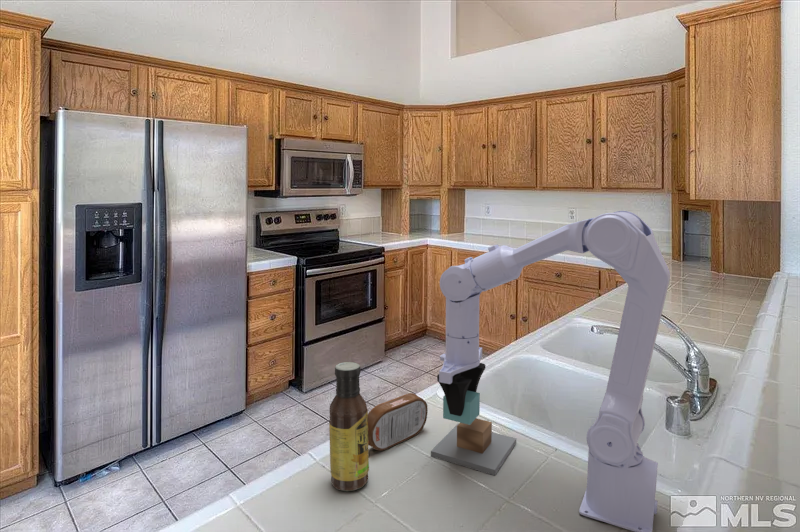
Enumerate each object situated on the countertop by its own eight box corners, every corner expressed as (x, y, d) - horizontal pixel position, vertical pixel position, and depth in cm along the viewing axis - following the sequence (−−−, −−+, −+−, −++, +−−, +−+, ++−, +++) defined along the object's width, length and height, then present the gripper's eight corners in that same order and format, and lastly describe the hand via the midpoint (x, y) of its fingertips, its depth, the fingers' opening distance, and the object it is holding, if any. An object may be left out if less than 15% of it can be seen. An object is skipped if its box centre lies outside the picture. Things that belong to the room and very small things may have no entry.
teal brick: (479, 414, 84) (479, 392, 84) (469, 424, 81) (470, 402, 80) (453, 408, 87) (453, 387, 86) (443, 418, 83) (443, 396, 82)
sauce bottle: (366, 494, 75) (363, 374, 72) (327, 493, 75) (323, 373, 72) (371, 471, 81) (369, 359, 78) (335, 470, 82) (331, 359, 79)
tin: (419, 425, 97) (419, 386, 96) (430, 431, 95) (430, 391, 93) (360, 452, 87) (359, 409, 86) (371, 459, 85) (370, 415, 84)
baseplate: (516, 443, 90) (516, 438, 90) (494, 475, 80) (494, 469, 79) (457, 428, 96) (457, 423, 96) (430, 456, 86) (430, 451, 85)
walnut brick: (491, 442, 88) (491, 422, 88) (482, 453, 84) (482, 432, 84) (466, 435, 91) (466, 415, 90) (456, 446, 87) (456, 425, 86)
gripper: (457, 321, 90) (457, 389, 92) (422, 341, 77) (422, 420, 79) (493, 325, 86) (492, 396, 88) (462, 348, 74) (461, 430, 76)
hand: (461, 408), depth 84 cm, fingers closed on teal brick, 4 cm apart
